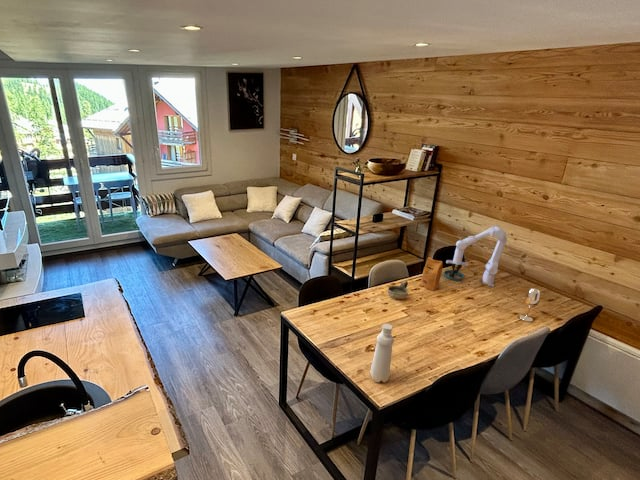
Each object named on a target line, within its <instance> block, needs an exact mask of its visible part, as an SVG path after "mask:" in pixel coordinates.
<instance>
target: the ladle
mask: <svg viewBox="0 0 640 480" xmlns="http://www.w3.org/2000/svg"><path fill="white" fill-rule="evenodd" d="M454 270H455V271H454V273H453V274H449V275H448V276H450V277H454V278H455V277H456V275H454V274H455V273H456V270H457V269H454Z"/></svg>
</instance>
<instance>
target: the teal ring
mask: <svg viewBox="0 0 640 480" xmlns="http://www.w3.org/2000/svg"><path fill="white" fill-rule="evenodd" d="M455 270H456V269H454V271H455ZM447 274H453V273H452V269H446V270H444V271H443V278H445V279H446V280H449V281H451V282H463V281H464V279H465V274H463V273H462V272H461V271H458V273H457V274H456V273H455V274H454V275H455V276H457V278H454V277H450V276H449V275H447Z"/></svg>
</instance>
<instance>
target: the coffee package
mask: <svg viewBox="0 0 640 480" xmlns="http://www.w3.org/2000/svg"><path fill="white" fill-rule="evenodd" d="M443 263H444V262H443V261H442V260H437V259H433V258H432V257H430V256H428V257H427V259H426V262H425V266H424V267H423V271H422V274H421V278H420V287H423V288H425V289H427V290H430V291H435V290H437V289H439V286H440V282H441V281H440V280H441V277H442V273H443Z"/></svg>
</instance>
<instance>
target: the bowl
mask: <svg viewBox="0 0 640 480" xmlns="http://www.w3.org/2000/svg"><path fill="white" fill-rule="evenodd" d="M408 285H409V283H408V280H402V281H401V283H400V284H399V285H390V286H388V287H387V294H388V295H389V296H390V297H391V298H394V299H397V300H403V299H406V298H407V297H408V295H409V289H408Z"/></svg>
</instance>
